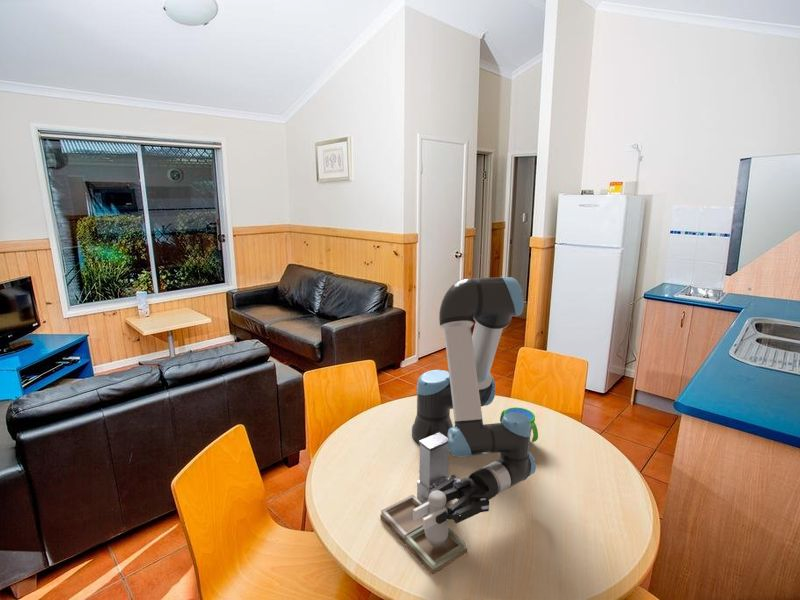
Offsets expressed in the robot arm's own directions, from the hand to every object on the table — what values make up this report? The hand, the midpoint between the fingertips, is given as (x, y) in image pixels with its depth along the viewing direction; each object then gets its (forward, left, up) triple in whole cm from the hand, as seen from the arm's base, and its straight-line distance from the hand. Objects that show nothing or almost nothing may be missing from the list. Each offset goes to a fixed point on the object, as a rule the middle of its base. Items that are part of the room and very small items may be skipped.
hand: (418, 519), depth 102 cm
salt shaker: (0, +5, -9) cm, 10 cm away
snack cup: (-20, +59, -12) cm, 64 cm away
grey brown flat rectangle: (-6, +6, -11) cm, 14 cm away
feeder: (-13, +17, -11) cm, 24 cm away
